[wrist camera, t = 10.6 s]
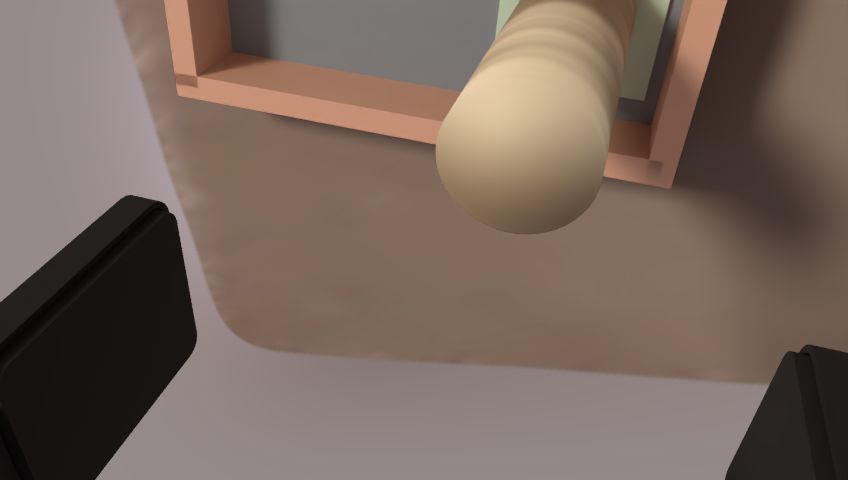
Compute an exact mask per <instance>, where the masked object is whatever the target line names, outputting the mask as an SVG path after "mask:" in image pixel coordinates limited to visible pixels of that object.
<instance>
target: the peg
mask: <svg viewBox="0 0 848 480" xmlns="http://www.w3.org/2000/svg"><path fill="white" fill-rule="evenodd" d="M636 8H637V1H636V0H520V1H519V3H518V4H517V6H516V7H515V9H514V10H513V12H512V14H511V15H510V17H509V18H508V20H507V21H506V23H505V25H504V26H503V28H502V29H501V31H500V32H499V34H498V36H497V37H496V39H495V40H494V42H493V43H492V45H491V47H490V48H489V50H488V51H487V53H486V54H485V56H484V58H483V59H482V61H481V62H480V64H479V65H478V67H477V69H476V70H475V72H474V73H473V75H472V76H471V78H470V80H469V81H468V83H467V84H466V86H465V87H464V89H463V91H462V92H461V94H460V95H459V97H458V98H457V100H456V102H455V103H454V105H453V106H452V108H451V110H450V111H449V113H448V114H447V116H446V117H445V119H444V121H443V123H442V125H441V127H440V130H439V133H438V136H437V142H436V162H437V168H438V172H439V175H440V178H441V180H442V182H443V185H444V186H445V188H446V190H447V192H448V193H449V195H450V196H451V197H452V199H453V200H454V201H455V202H456V203H457V204H458V205H459V207H460V208H461V209H463V210H464V211H465V212H466V213H467V214H469V215H470V216H471V217H473V218H474V219H476V220H477V221H479V222H481V223H483V224H485V225H487V226H489V227H492V228H494V229H497V230H501V231H504V232H509V233H515V234H539V233H544V232H549V231H552V230H556V229H558V228H561V227H563V226H565V225H567V224H569V223H571V222H572V221H574V220H575V219H577V218H578V217H579V216H580V215H582V214H583V213H584V212H585V211H586V210H587V209H588V207H589V206H590V205H591V203H592V202H593V201H594V199H595V197H596V195H597V193H598V191H599V189H600V186H601V183H602V180H603V175H604V170H605V165H606V160H607V155H608V150H609V145H610V140H611V135H612V130H613V125H614V120H615V115H616V110H617V105H618V100H619V95H620V90H621V85H622V80H623V76H624V71H625V66H626V61H627V56H628V51H629V46H630V41H631V36H632V31H633V26H634V21H635V16H636Z"/></svg>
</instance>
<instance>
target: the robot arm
mask: <svg viewBox="0 0 848 480" xmlns="http://www.w3.org/2000/svg"><path fill="white" fill-rule="evenodd" d="M196 341H197V331H196V325H195V320H194V314H193V308H192V303H191V297H190V292H189V286H188V280H187V275H186V270H185V264H184V259H183V253H182V248H181V242H180V236H179V231H178V225H177V220H176V217H175V216H174V215H173V214H172V213H169V210H168V208H167V206H166V205H165V203H162V202H160V201H155V200H151V199H146V198H142V197H138V196H133V195H128V196H125V197H124V198H122V199H120V200H119V201H118V202H117V203H116V204H115V205H113V206H112V207H111V208H110V209H109V210H108V211H106V212H105V213H104V214H103V215H102V216H100V217H99V218H98V219H97V220H96V221H95V222H93V223H92V224H91V225H90V226H89V227H88V228H86V229H85V230H84V231H83V232H82V233H81V234H79V235H78V236H77V237H76V238H75V239H74V240H72V241H71V242H70V243H69V244H68V245H67V246H65V248H63V249H62V250H61V251H60V252H59V253H57V254H56V255H55V256H54V257H53V258H52V259H50V260H49V261H48V262H47V263H46V264H45V265H43V266H42V267H41V268H40V269H39V270H38V271H36V272H35V273H34V274H33V275H32V276H31V277H29V278H28V279H27V280H26V281H25V282H24V283H23V284H21V285H20V286H19V287H18V288H17V289H15V290H14V291H13V292H12V293H11V294H10V295H9V296H7V297H6V298H5V299H4V300H3V301H1V302H0V480H95V479H96V478H97V476H98V475H99V474H100V473H101V471H102V470H103V469H104V467H105V466H106V465H107V463H108V462H109V461H110V459H111V458H112V457H113V456H114V454H115V453H116V451H117V450H118V449H119V448H120V446H121V445H122V444H123V443H124V441H125V440H126V439H127V437H128V436H129V435H130V433H131V432H132V431H133V429H134V428H135V427H136V426H137V424H138V423H139V422H140V421H141V419H142V418H143V417H144V415H145V414H146V413H147V411H148V410H149V409H150V408H151V406H152V405H153V404H154V402H155V401H156V400H157V398H158V397H159V396H160V394H161V393H162V392H163V391H164V389H165V388H166V387H167V385H168V384H169V383H170V381H171V380H172V379H173V378H174V376H175V375H176V374H177V372H178V371H179V370H180V368H181V367H182V366H183V365H184V363H185V362H186V361H187V359H188V358H189V357H190V355H191V354H192V352H193V350H194V348H195V344H196ZM725 480H848V353H845V352H841V351H836V350H832V349H827V348H823V347H818V346H814V345H805V346H804V347H803V348H802V349H801V351H800V352H799V353H796V352H792V351H788V352H787V353H786V354H785V356H784V357H783V359H782V361H781V363H780V365H779V367H778V369H777V371H776V373H775V375H774V377H773V379H772V381H771V383H770V385H769V387H768V389H767V391H766V394H765V395H764V398H763V400H762V402H761V404H760V406H759V408H758V410H757V412H756V414H755V416H754V418H753V420H752V422H751V424H750V426H749V428H748V430H747V432H746V434H745V436H744V438H743V440H742V442H741V444H740V446H739V448H738V450H737V452H736V454H735V456H734V458H733V460H732V462H731V464H730V466H729V468H728V471H727V474H726V478H725Z"/></svg>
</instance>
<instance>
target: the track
mask: <svg viewBox="0 0 848 480" xmlns="http://www.w3.org/2000/svg"><path fill="white" fill-rule="evenodd" d="M519 1H520V0H164V2H165V9H166V16H167V23H168V30H169V37H170V44H171V51H172V58H173V65H174V72H175V79H176V86H177V93H178V95H179V96H184V97H189V98H194V99H200V100H205V101H210V102H215V103H221V104H226V105H231V106H236V107H242V108H247V109H252V110H257V111H263V112H268V113H273V114H278V115H284V116H289V117H294V118H300V119H305V120H310V121H315V122H321V123H326V124H331V125H336V126H342V127H347V128H352V129H357V130H363V131H368V132H373V133H378V134H384V135H389V136H394V137H399V138H405V139H410V140H415V141H420V142H426V143H431V144H436V142H437V136H438V133H439V130H440V127H441V125H442V123H443V121H444V119H445V117H446V116H447V114H448V113H449V111H450V110H451V108H452V106H453V105H454V103H455V102H456V100H457V98H458V97H459V95H460V94H461V92H462V91H463V89H464V87H465V86H466V84H467V83H468V81H469V80H470V78H471V76H472V75H473V73H474V72H475V70H476V69H477V67H478V65H479V64H480V62H481V61H482V59H483V58H484V56H485V54H486V53H487V51H488V50H489V48H490V47H491V45H492V43H493V42H494V40H495V39H496V37H497V36H498V34H499V32H500V31H501V29H502V28H503V26H504V25H505V23H506V21H507V20H508V18H509V17H510V15H511V14H512V12H513V10H514V9H515V7H516V6H517V4H518V3H519ZM636 1H637V8H636V16H635V21H634V26H633V31H632V36H631V41H630V46H629V51H628V56H627V61H626V66H625V71H624V76H623V80H622V85H621V90H620V95H619V100H618V105H617V110H616V115H615V120H614V125H613V130H612V135H611V140H610V145H609V150H608V155H607V160H606V165H605V170H604V175H603V176H605V177H610V178H615V179H620V180H626V181H631V182H636V183H641V184H647V185H652V186H657V187H662V188H668V189H671V186H672V183H673V179H674V176H675V173H676V169H677V166H678V163H679V159H680V156H681V153H682V149H683V146H684V143H685V139H686V136H687V133H688V129H689V126H690V123H691V119H692V116H693V113H694V109H695V106H696V103H697V99H698V96H699V93H700V89H701V86H702V83H703V79H704V76H705V73H706V69H707V66H708V63H709V59H710V56H711V53H712V49H713V46H714V43H715V39H716V36H717V33H718V29H719V26H720V23H721V19H722V16H723V13H724V9H725V6H726V3H727V0H636Z"/></svg>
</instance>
